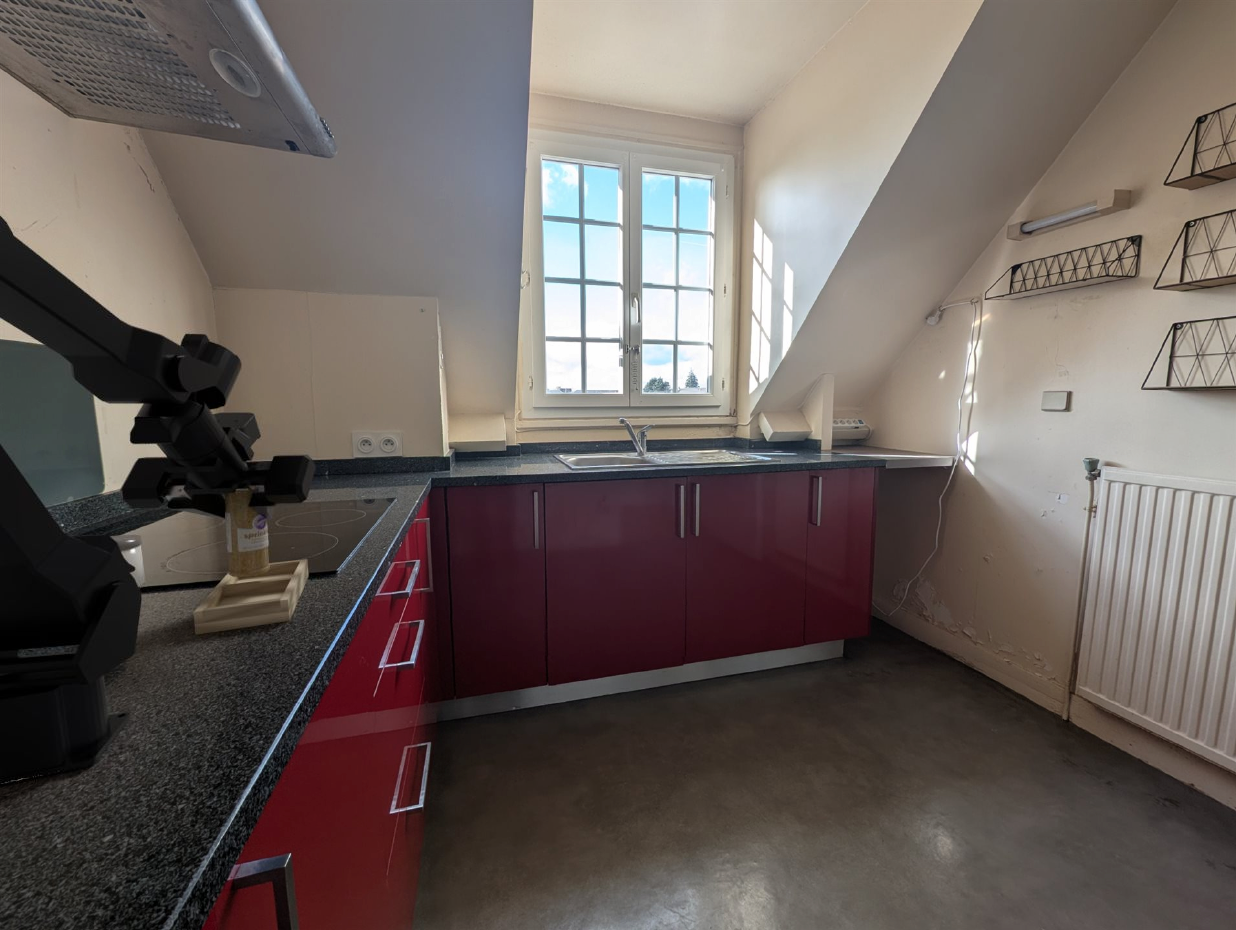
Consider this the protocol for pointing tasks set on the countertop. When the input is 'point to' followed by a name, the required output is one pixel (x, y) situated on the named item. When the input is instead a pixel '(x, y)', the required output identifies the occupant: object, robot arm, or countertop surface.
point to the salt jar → (132, 554)
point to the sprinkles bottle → (245, 536)
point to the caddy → (253, 598)
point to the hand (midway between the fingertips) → (252, 517)
